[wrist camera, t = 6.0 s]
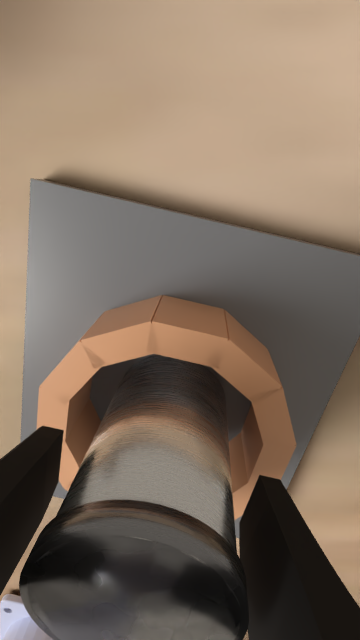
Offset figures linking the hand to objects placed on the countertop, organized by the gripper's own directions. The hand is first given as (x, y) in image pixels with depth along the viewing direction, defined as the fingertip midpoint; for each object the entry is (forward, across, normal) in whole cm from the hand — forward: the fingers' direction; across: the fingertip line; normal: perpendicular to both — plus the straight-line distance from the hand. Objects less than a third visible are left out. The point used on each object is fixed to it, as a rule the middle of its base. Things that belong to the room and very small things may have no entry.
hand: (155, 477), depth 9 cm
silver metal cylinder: (+4, 0, 0) cm, 4 cm away
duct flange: (+5, 0, 0) cm, 5 cm away
